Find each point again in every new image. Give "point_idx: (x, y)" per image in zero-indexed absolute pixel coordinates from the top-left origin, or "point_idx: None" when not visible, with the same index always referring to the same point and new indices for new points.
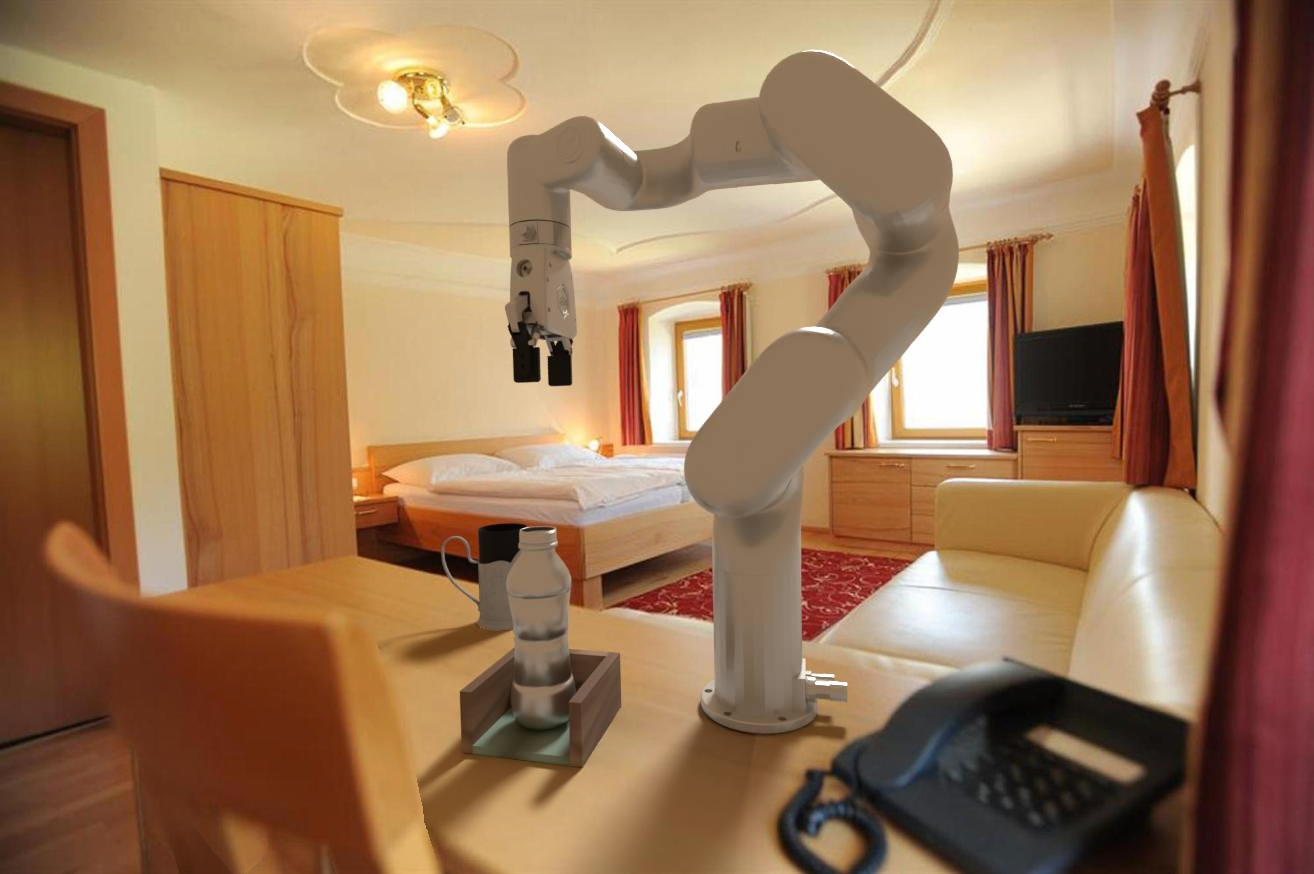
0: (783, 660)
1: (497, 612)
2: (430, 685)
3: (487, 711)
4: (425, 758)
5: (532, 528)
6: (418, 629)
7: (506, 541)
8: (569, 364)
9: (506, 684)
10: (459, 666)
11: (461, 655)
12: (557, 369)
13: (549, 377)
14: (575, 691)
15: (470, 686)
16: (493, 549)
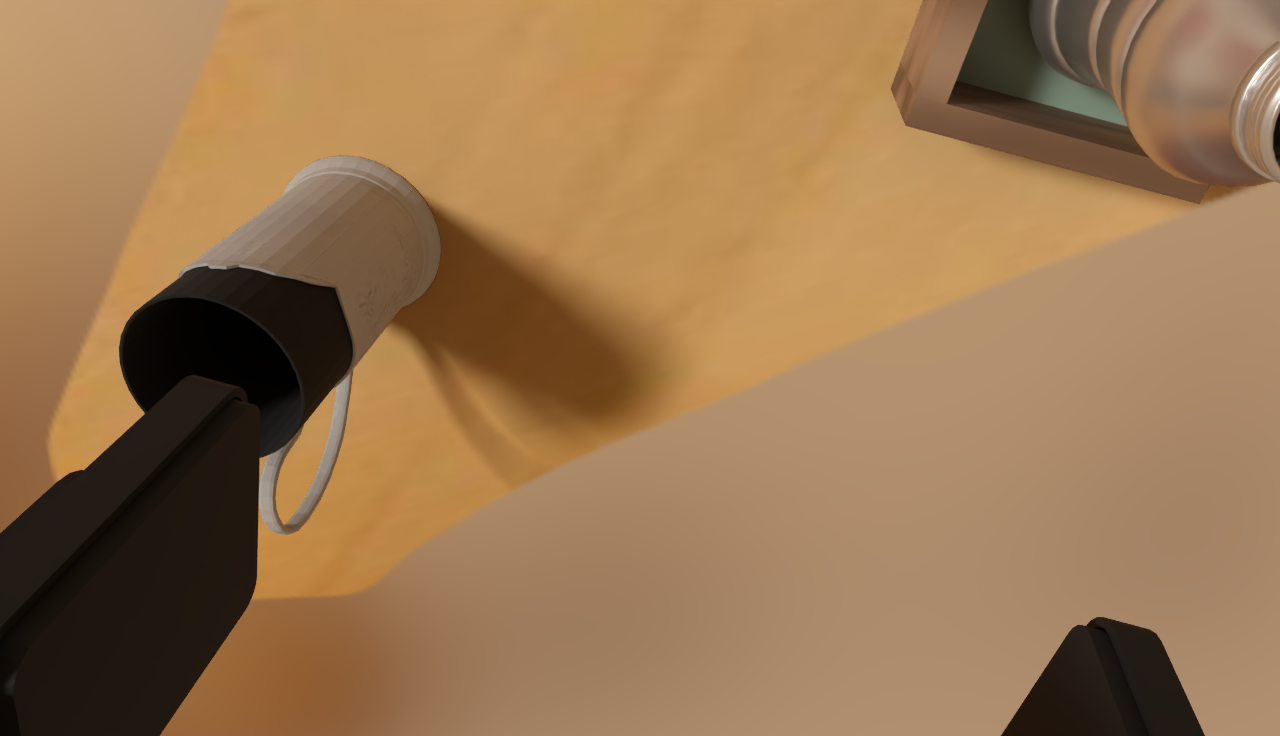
0: None
1: (415, 263)
2: (796, 314)
3: (1116, 132)
4: (1150, 224)
5: (1273, 153)
6: (443, 441)
7: (306, 335)
8: (79, 555)
9: (1028, 113)
10: (689, 279)
11: (619, 293)
12: (155, 643)
13: (212, 647)
14: None
15: (1178, 185)
16: (332, 364)
